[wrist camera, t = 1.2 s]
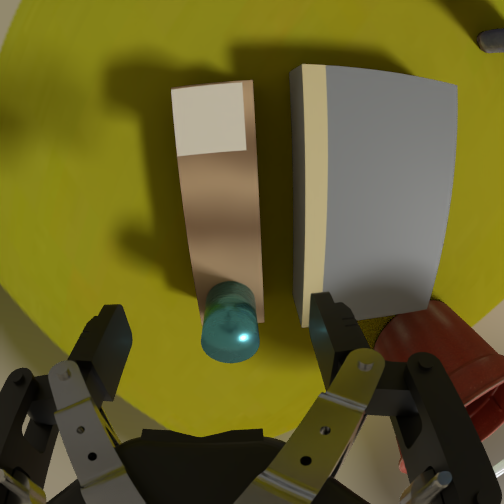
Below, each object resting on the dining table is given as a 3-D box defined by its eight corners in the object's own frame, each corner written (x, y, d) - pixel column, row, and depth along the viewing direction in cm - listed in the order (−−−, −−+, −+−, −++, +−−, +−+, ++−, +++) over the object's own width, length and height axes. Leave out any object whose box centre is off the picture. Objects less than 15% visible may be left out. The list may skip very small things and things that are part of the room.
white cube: (182, 92, 19) (171, 89, 15) (241, 87, 19) (242, 82, 15) (187, 147, 21) (177, 156, 17) (244, 142, 21) (246, 150, 17)
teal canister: (202, 282, 26) (197, 322, 21) (254, 279, 26) (258, 318, 21) (209, 322, 27) (205, 364, 23) (256, 319, 28) (260, 361, 23)
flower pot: (468, 264, 31) (550, 346, 17) (457, 352, 38) (506, 428, 24) (349, 312, 33) (404, 433, 18) (362, 393, 40) (395, 486, 25)
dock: (289, 72, 22) (301, 64, 17) (425, 85, 22) (457, 85, 18) (292, 295, 31) (301, 327, 27) (406, 283, 32) (427, 309, 27)
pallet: (180, 90, 22) (170, 87, 19) (249, 84, 22) (252, 80, 19) (205, 301, 31) (202, 326, 28) (261, 297, 31) (264, 322, 28)
